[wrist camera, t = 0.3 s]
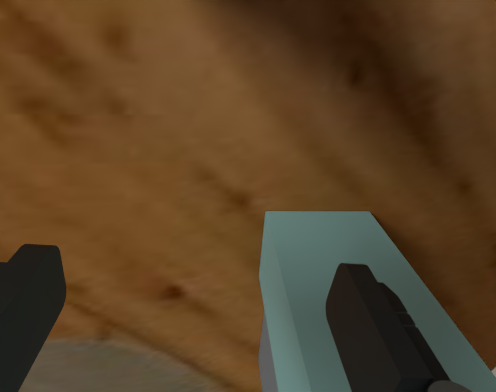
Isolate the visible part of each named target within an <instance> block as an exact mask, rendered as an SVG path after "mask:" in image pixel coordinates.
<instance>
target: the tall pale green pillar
mask: <svg viewBox="0 0 496 392" xmlns="http://www.w3.org/2000/svg"><path fill="white" fill-rule="evenodd" d="M340 263H351V264H365V265H367V266H368V267H369V268H370V270H371V272H372V273H373V275H374V277H375V278H376V280H377V282H382V283H384V284H385V285H387V286H388V287H389V288H390V289H391V290H392V291H393V292H394V293H395V294H396V295H397V296H398V297H399V298H400V300H401V302H402V303H403V305H404V306H405V308H406V310H407V314H410V316H411V318H412V319H413V321H414V322H415V326H416V327H418V329H419V330H420V332H421V334H422V335H423V337H424V338H425V340H426V342H427V343H428V345H429V346H430V348H431V350H432V351H433V353H434V354H435V356H436V358H437V359H438V361H439V362H440V364H441V366H442V367H443V369H444V370H445V372H446V373H447V375H448V377H449V378H450V380H451V381H452V382H455V383H458V384H460V385H462V386H464V387H466V388H467V389H469V390H471V391H472V392H496V377H495V376H494V375H493V374H492V372H491V371H490V370H489V368H488V367H487V366H486V364H485V363H484V362H483V360H482V359H481V358H480V356H479V355H478V354H477V352H476V351H475V350H474V348H473V347H472V346H471V345H470V343H469V342H468V341H467V339H466V338H465V337H464V335H463V334H462V333H461V331H460V330H459V329H458V327H457V326H456V325H455V323H454V322H453V321H452V319H451V318H450V317H449V316H448V314H447V313H446V312H445V310H444V309H443V308H442V306H441V305H440V304H439V302H438V301H437V300H436V298H435V297H434V296H433V294H432V293H431V292H430V291H429V289H428V288H427V287H426V285H425V284H424V283H423V281H422V280H421V279H420V277H419V276H418V275H417V273H416V272H415V271H414V269H413V268H412V267H411V265H410V264H409V263H408V262H407V260H406V259H405V258H404V256H403V255H402V254H401V252H400V251H399V250H398V248H397V247H396V246H395V244H394V243H393V242H392V240H391V239H390V238H389V237H388V235H387V234H386V233H385V231H384V230H383V229H382V227H381V226H380V225H379V223H378V222H377V221H376V219H375V218H374V217H373V215H372V214H371V213H370V211H266V212H265V221H264V231H263V241H262V251H261V261H260V270H259V280H260V286H261V291H262V297H263V303H264V309H265V315H266V321H267V327H268V333H269V339H270V344H271V350H272V356H273V362H274V368H275V374H276V380H277V386H278V392H352V391H351V388H350V385H349V382H348V379H347V376H346V373H345V371H344V368H343V365H342V362H341V359H340V356H339V353H338V350H337V347H336V345H335V342H334V339H333V336H332V333H331V330H330V327H329V324H328V321H327V318H326V299H327V296H328V293H329V290H330V287H331V284H332V281H333V279H334V276H335V273H336V270H337V267H338V265H339V264H340Z"/></svg>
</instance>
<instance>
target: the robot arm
mask: <svg viewBox="0 0 496 392" xmlns="http://www.w3.org/2000/svg"><path fill="white" fill-rule="evenodd" d="M65 298H66V283H65V278H64V272H63V266H62V261H61V255H60V250H59V248H58V247H57V246H53V245H36V244H24V245H23V246H21V247H20V248H19V249H18V251H17V252H16V253H15V254H14V255H13V256H12V258H11V259H10V260H9V261H8V262H7V263H5V262H0V392H18V391H19V389H20V387H21V385H22V383H23V381H24V379H25V378H26V376H27V374H28V372H29V370H30V368H31V366H32V365H33V363H34V361H35V359H36V357H37V355H38V353H39V352H40V350H41V348H42V346H43V344H44V342H45V340H46V338H47V337H48V335H49V333H50V331H51V329H52V327H53V325H54V324H55V322H56V320H57V318H58V316H59V314H60V312H61V310H62V308H63V306H64V302H65ZM326 318H327V321H328V324H329V327H330V330H331V333H332V336H333V339H334V342H335V345H336V347H337V350H338V353H339V356H340V359H341V362H342V365H343V368H344V371H345V373H346V376H347V379H348V382H349V385H350V388H351V391H352V392H472V391H471V390H469V389H467V388H466V387H464V386H462V385H460V384H458V383H455V382H452V381H451V380H450V378H449V377H448V375H447V373H446V372H445V370H444V369H443V367H442V366H441V364H440V362H439V361H438V359H437V358H436V356H435V354H434V353H433V351H432V350H431V348H430V346H429V345H428V343H427V342H426V340H425V338H424V337H423V335H422V334H421V332H420V330H419V329H418V327H416V326H415V322H414V321H413V319H412V318H411V316H410V314H407V310H406V308H405V306H404V305H403V303H402V302H401V300H400V298H399V297H398V296H397V295H396V294H395V293H394V292H393V291H392V290H391V289H390V288H389V287H388V286H387V285H385V284H384V283H382V282H377V280H376V278H375V277H374V275H373V273H372V272H371V270H370V268H369V267H368V266H367V265H365V264H351V263H340V264H339V265H338V267H337V270H336V273H335V276H334V279H333V281H332V284H331V287H330V290H329V293H328V296H327V299H326Z"/></svg>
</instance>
